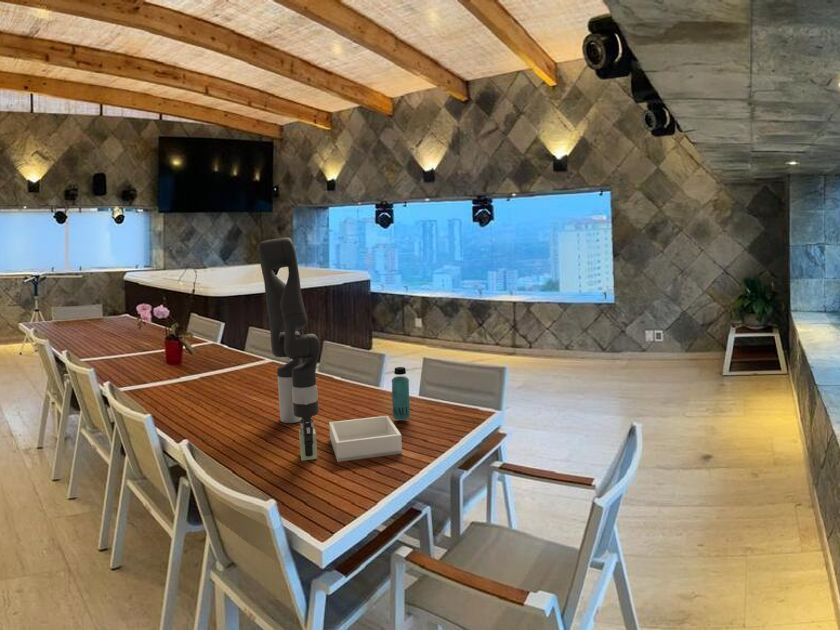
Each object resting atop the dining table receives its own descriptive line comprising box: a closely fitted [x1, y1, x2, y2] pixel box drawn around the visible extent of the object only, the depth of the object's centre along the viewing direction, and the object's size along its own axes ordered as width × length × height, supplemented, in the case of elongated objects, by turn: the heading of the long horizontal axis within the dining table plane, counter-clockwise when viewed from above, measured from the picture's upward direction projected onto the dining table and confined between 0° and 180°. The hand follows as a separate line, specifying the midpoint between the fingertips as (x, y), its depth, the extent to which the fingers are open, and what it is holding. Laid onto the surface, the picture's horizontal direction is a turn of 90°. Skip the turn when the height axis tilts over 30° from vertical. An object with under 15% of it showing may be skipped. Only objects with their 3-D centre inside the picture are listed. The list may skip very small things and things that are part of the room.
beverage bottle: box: [391, 366, 411, 421], centre depth 204 cm, size 6×7×20 cm
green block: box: [298, 428, 318, 462], centre depth 174 cm, size 5×5×8 cm
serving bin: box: [328, 415, 403, 463], centre depth 181 cm, size 20×20×6 cm
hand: (308, 452), depth 174 cm, fingers closed on green block, 4 cm apart
